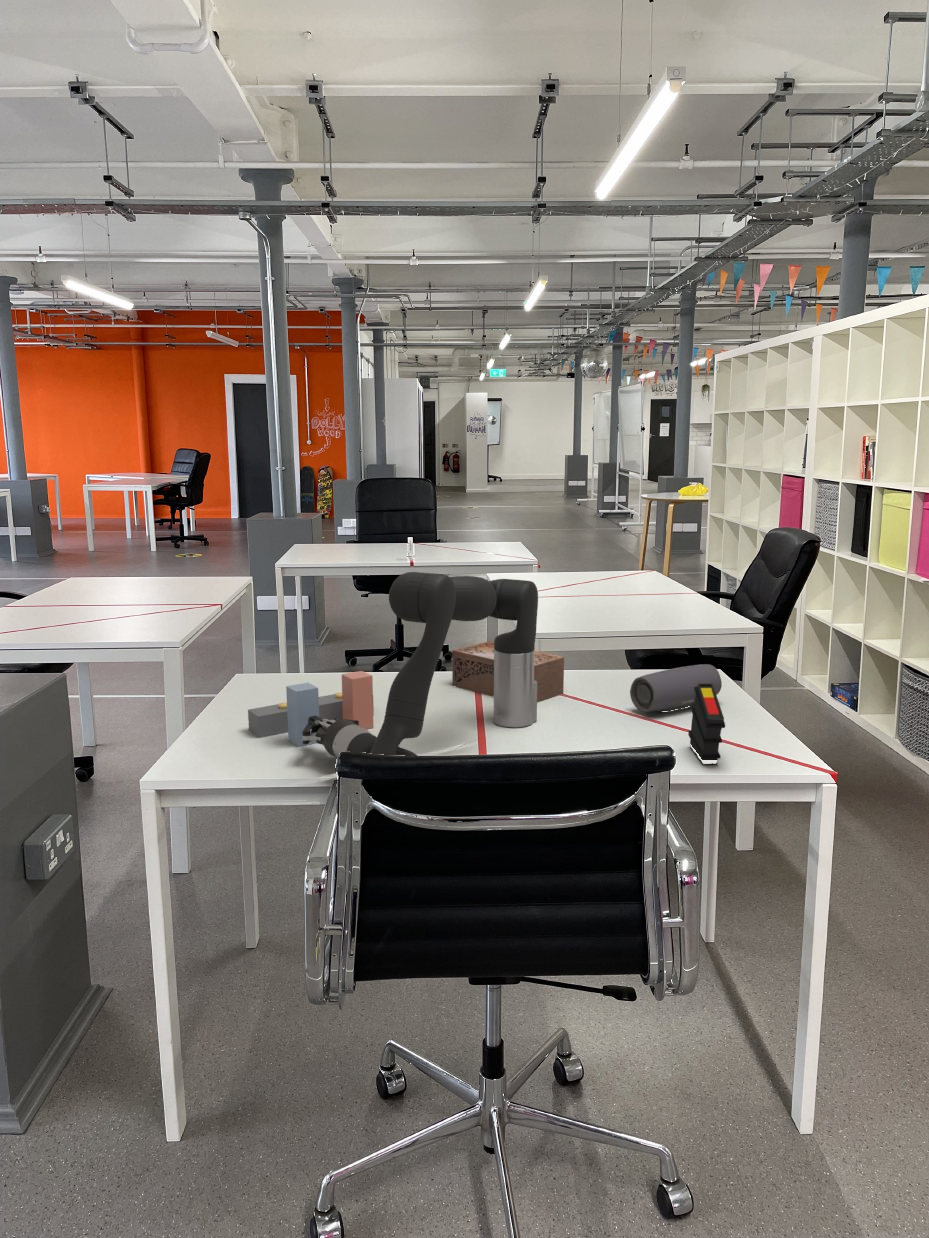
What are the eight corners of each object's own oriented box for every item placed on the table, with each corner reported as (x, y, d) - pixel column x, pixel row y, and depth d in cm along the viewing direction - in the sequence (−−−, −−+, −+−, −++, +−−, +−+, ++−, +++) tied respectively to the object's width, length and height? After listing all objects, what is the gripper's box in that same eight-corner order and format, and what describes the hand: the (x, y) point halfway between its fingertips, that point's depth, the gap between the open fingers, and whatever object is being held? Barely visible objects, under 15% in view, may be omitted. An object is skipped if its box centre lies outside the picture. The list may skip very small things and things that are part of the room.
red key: (362, 721, 202) (361, 670, 200) (373, 727, 198) (372, 675, 196) (343, 725, 199) (341, 674, 197) (353, 731, 195) (352, 679, 193)
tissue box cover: (452, 686, 236) (452, 650, 234) (488, 676, 246) (489, 641, 244) (527, 707, 219) (528, 667, 217) (563, 694, 229) (564, 657, 227)
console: (360, 713, 213) (359, 685, 211) (401, 734, 197) (400, 705, 196) (248, 734, 197) (246, 705, 196) (283, 760, 182) (281, 728, 180)
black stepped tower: (702, 734, 193) (713, 682, 183) (715, 780, 182) (728, 727, 173) (684, 734, 193) (695, 682, 183) (697, 780, 182) (709, 727, 173)
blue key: (309, 735, 193) (308, 682, 190) (320, 742, 189) (318, 687, 186) (288, 740, 190) (286, 686, 188) (298, 746, 186) (296, 691, 184)
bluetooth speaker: (693, 696, 227) (695, 658, 225) (722, 705, 219) (724, 666, 217) (627, 711, 215) (628, 671, 213) (654, 721, 207) (656, 679, 205)
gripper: (381, 719, 174) (340, 697, 188) (319, 731, 166) (281, 708, 180) (381, 755, 175) (341, 731, 189) (320, 769, 168) (283, 744, 182)
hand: (312, 720), depth 185 cm, fingers closed
